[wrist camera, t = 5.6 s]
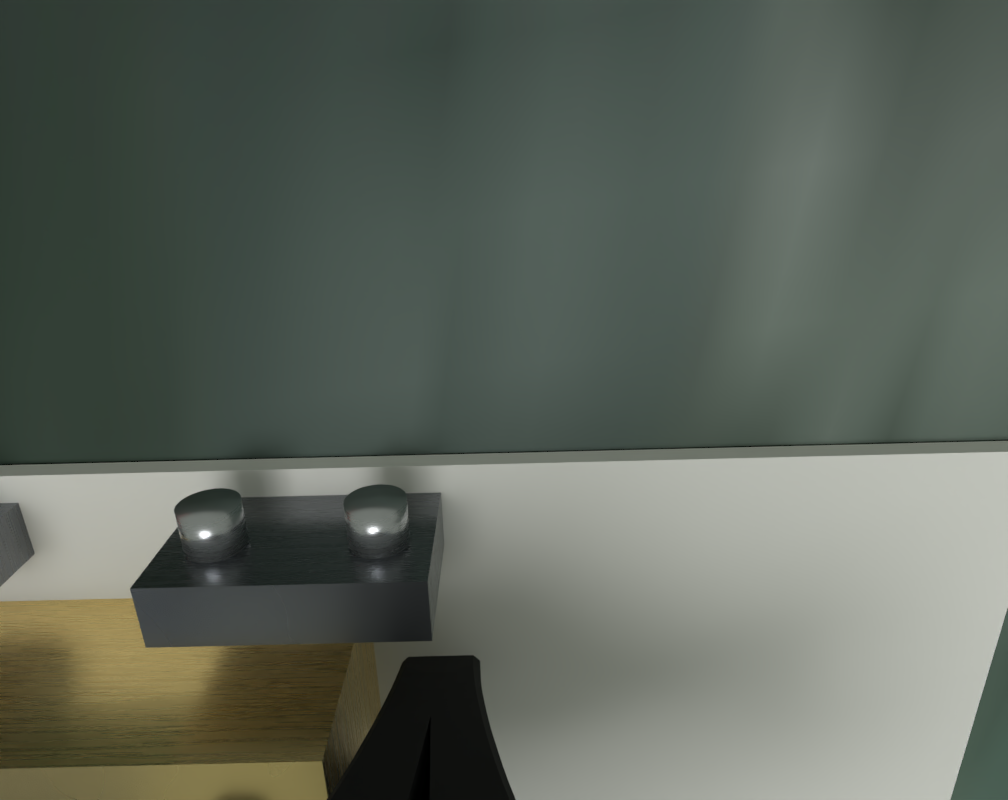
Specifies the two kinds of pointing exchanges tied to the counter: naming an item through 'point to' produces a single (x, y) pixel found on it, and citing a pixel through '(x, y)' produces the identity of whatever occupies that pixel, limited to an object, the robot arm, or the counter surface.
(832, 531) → the mat
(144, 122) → the counter surface
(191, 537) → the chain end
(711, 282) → the counter surface
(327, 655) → the link
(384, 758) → the robot arm
